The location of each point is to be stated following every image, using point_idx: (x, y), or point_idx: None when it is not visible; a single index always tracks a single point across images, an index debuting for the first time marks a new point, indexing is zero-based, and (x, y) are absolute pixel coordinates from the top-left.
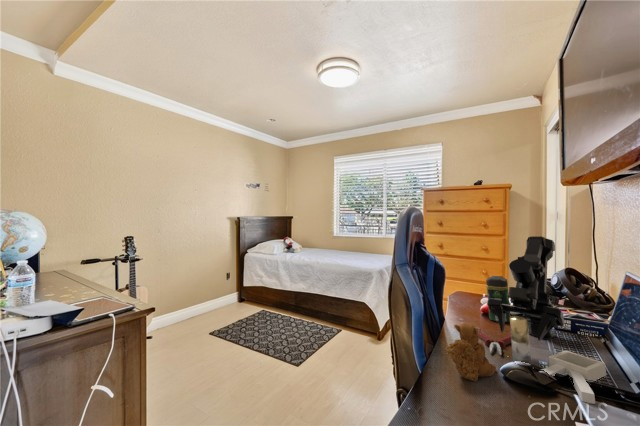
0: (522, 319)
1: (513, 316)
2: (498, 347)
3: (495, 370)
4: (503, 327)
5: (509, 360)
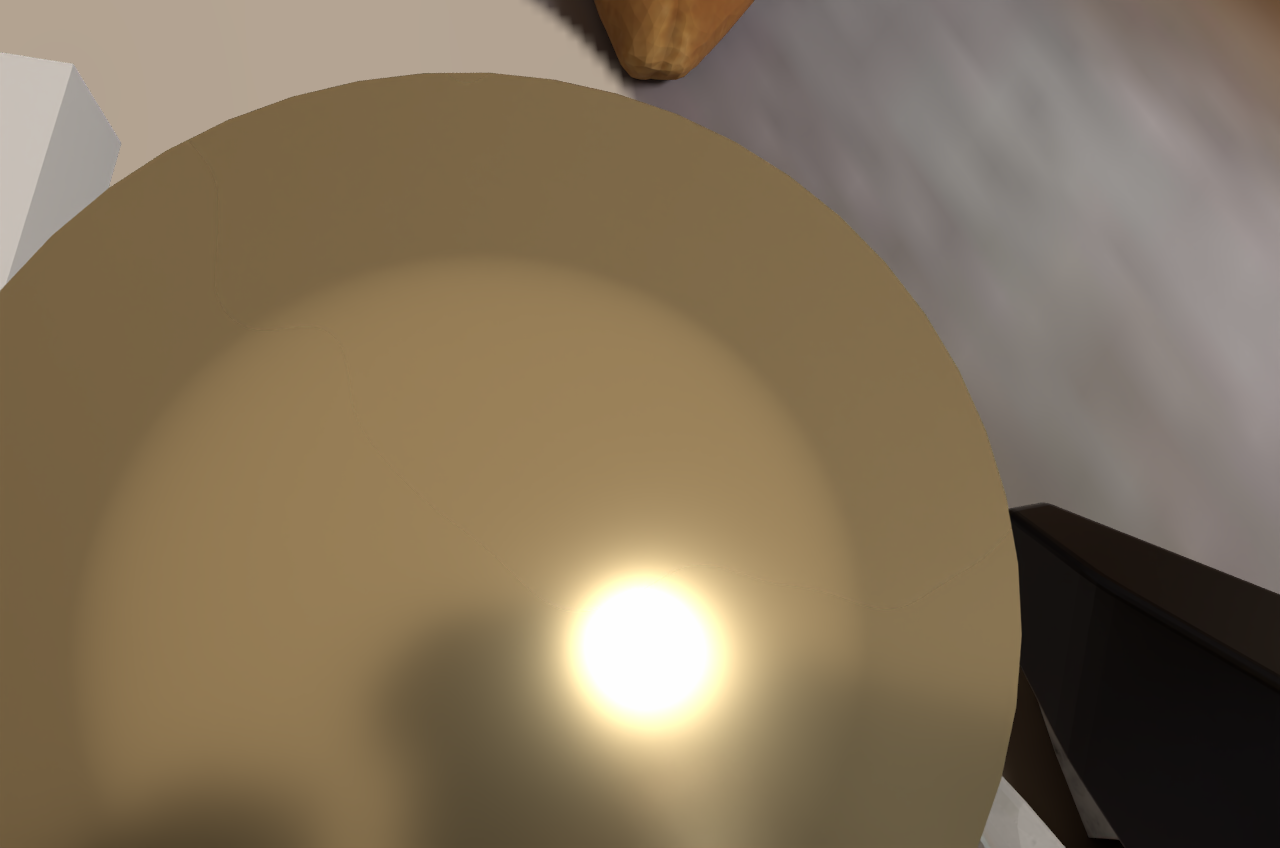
0: (173, 502)
1: (888, 720)
2: (1030, 837)
3: (598, 10)
4: (1091, 692)
5: None
